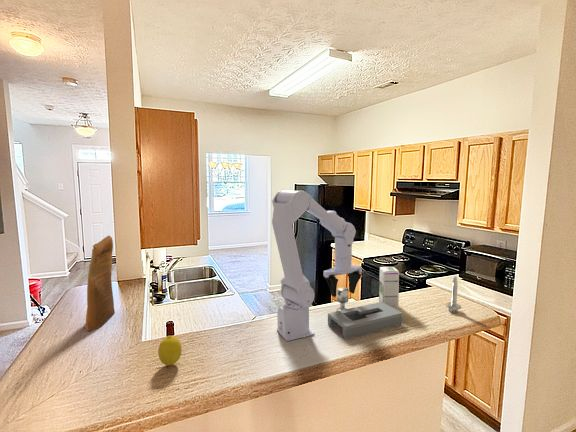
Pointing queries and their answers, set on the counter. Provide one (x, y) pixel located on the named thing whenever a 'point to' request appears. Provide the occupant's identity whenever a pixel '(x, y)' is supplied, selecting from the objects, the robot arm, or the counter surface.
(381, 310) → the keyhole plate
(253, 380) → the counter surface
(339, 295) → the steel peg
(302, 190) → the robot arm
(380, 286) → the syrup box
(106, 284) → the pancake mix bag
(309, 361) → the counter surface
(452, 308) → the screw
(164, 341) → the lemon
